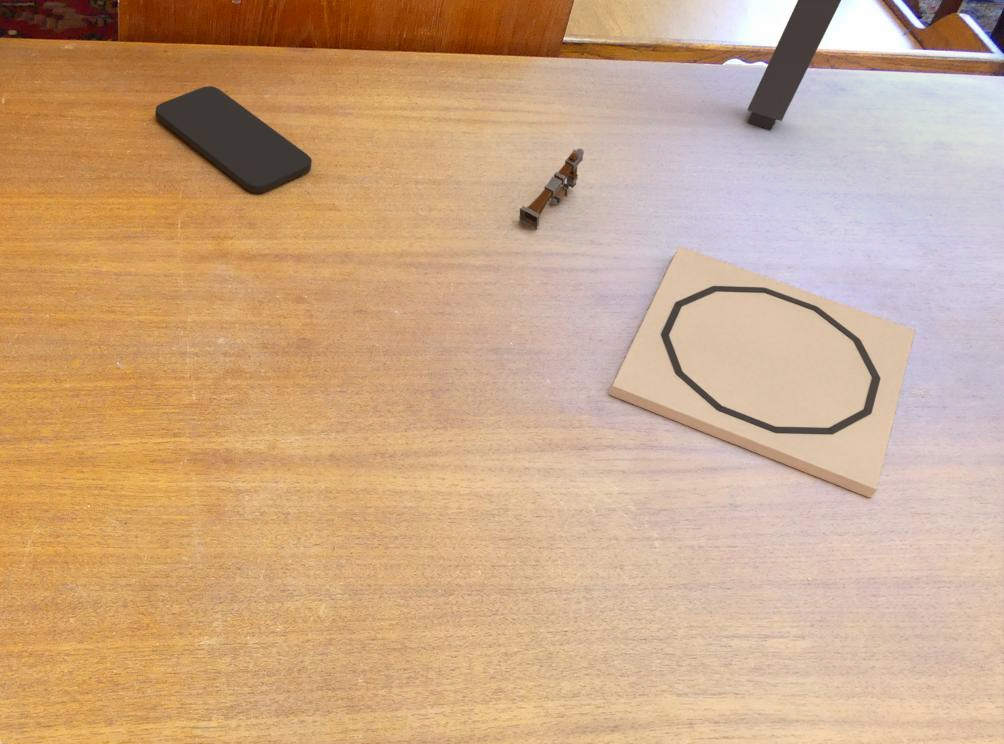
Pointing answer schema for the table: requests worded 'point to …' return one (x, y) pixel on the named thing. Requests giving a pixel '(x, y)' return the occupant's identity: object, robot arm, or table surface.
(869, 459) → the sketch board
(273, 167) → the phone
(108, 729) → the table surface
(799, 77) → the marker
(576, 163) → the brown two-tone long part
